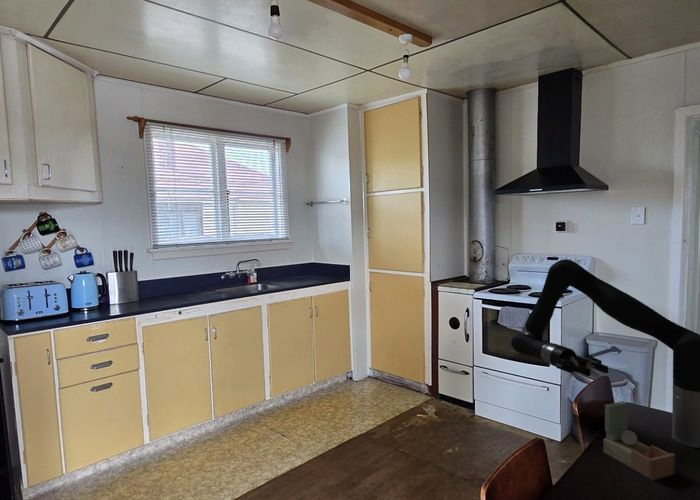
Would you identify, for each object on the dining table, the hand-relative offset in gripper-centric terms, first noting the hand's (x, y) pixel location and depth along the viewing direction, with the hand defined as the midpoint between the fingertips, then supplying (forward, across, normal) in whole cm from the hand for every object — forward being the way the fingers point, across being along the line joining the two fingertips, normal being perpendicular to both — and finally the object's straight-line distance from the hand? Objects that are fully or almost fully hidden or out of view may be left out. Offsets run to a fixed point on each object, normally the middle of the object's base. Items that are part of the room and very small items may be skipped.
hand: (598, 371), depth 135 cm
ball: (+11, 0, +16) cm, 19 cm away
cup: (+18, 0, +22) cm, 28 cm away
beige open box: (+10, 0, +22) cm, 24 cm away
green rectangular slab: (+7, 0, +18) cm, 19 cm away
